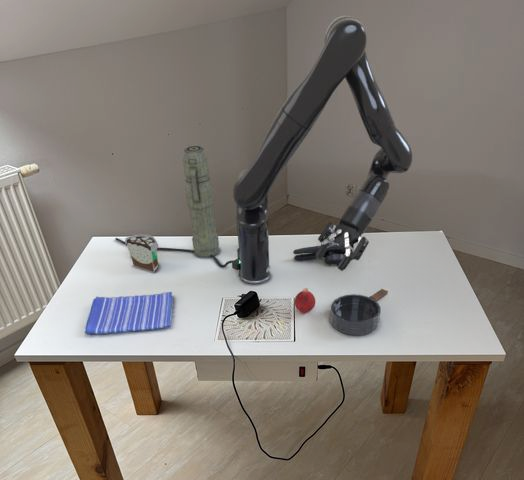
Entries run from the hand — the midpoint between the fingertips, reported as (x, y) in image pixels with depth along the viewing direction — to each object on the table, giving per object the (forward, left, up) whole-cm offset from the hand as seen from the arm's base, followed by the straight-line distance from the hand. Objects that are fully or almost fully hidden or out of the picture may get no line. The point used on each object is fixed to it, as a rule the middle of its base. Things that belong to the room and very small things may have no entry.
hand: (328, 263), depth 132 cm
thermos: (-51, -5, -13) cm, 53 cm away
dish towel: (-36, -44, -13) cm, 59 cm away
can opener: (-18, +17, -13) cm, 28 cm away
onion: (-1, -9, -13) cm, 15 cm away
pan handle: (+12, +7, -10) cm, 17 cm away
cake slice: (-58, -24, -13) cm, 64 cm away
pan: (+12, -3, -12) cm, 18 cm away
